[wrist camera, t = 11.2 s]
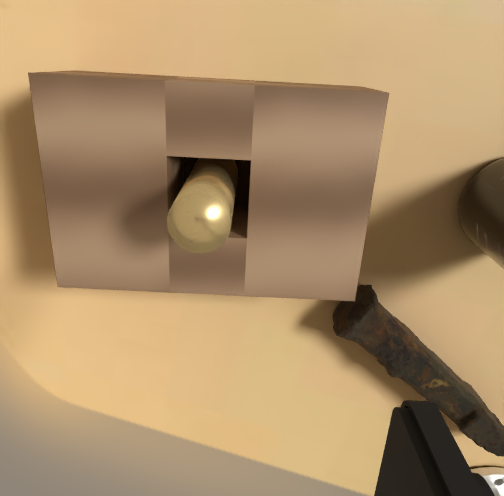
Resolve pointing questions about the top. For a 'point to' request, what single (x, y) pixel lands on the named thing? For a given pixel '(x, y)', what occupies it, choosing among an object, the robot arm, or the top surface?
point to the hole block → (207, 146)
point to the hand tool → (417, 366)
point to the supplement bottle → (485, 210)
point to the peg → (204, 206)
